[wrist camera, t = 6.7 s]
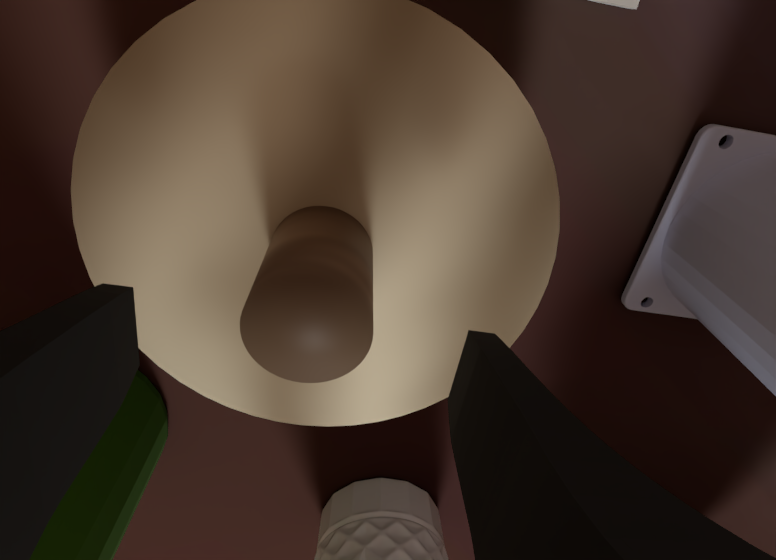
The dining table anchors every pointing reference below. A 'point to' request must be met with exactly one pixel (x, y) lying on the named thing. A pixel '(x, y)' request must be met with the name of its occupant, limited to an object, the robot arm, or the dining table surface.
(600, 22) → the dining table surface
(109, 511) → the wine bottle
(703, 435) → the dining table surface
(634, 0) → the mat
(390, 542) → the white cup
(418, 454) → the dining table surface
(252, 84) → the lid
